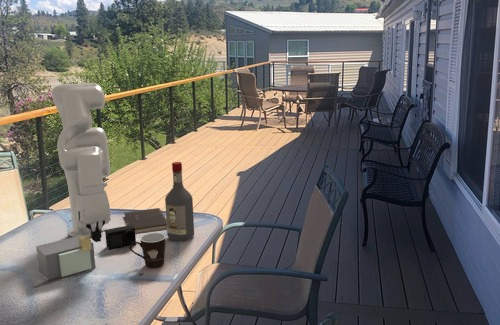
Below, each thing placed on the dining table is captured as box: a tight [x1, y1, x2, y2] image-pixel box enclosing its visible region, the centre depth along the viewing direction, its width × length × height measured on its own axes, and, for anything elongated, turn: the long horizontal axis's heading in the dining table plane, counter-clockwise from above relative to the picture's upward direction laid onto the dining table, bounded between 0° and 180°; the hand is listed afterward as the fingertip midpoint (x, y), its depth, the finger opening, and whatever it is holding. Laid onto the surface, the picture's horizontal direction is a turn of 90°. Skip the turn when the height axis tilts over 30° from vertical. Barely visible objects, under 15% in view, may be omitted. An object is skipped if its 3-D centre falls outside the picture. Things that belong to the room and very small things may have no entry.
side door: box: [59, 236, 93, 277], centre depth 175 cm, size 10×3×12 cm, turn 128°
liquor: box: [164, 161, 195, 243], centre depth 205 cm, size 9×9×30 cm
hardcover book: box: [123, 207, 167, 234], centre depth 226 cm, size 16×23×2 cm
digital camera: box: [104, 224, 137, 251], centre depth 199 cm, size 10×5×7 cm, turn 118°
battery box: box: [32, 235, 96, 288], centre depth 178 cm, size 21×12×9 cm, turn 128°
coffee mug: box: [129, 232, 167, 269], centre depth 183 cm, size 12×9×10 cm
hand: (96, 240), depth 179 cm, fingers closed
